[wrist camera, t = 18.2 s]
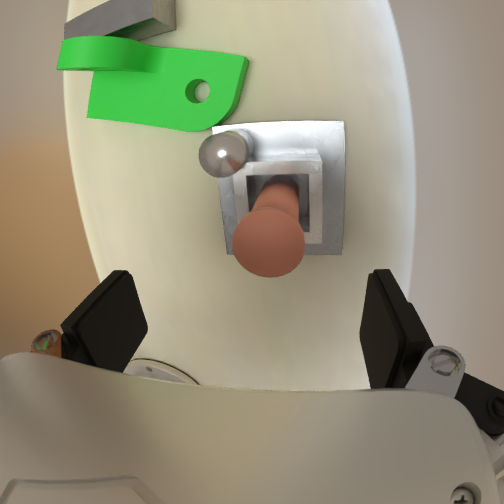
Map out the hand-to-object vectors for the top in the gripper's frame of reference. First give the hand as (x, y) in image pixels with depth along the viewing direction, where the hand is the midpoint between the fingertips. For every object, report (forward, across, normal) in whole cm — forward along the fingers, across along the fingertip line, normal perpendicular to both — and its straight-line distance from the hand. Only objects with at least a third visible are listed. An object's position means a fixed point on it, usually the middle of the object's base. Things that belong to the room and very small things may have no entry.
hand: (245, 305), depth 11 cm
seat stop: (+12, +10, -17) cm, 23 cm away
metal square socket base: (+13, -1, -2) cm, 13 cm away
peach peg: (+11, -1, -2) cm, 11 cm away
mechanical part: (+13, +7, -10) cm, 18 cm away
